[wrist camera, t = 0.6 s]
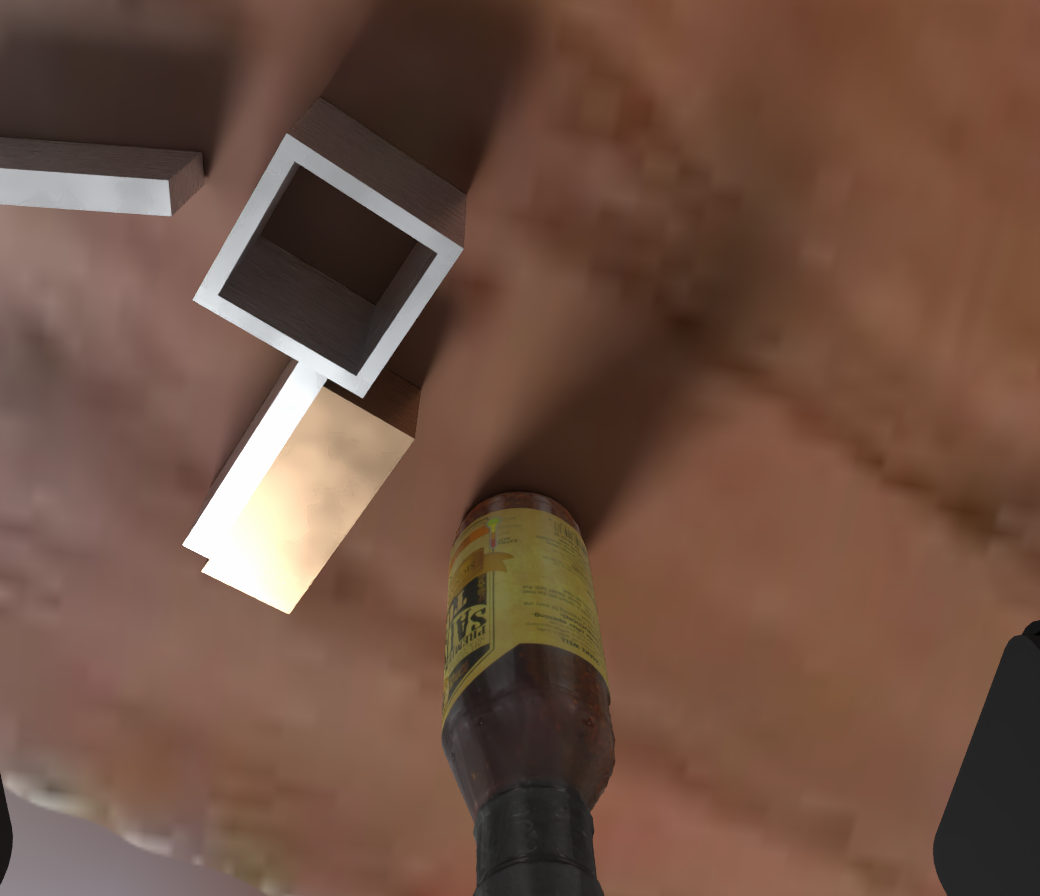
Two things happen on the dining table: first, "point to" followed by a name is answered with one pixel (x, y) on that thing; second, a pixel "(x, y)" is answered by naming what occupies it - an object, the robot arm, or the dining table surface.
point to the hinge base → (319, 362)
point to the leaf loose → (97, 176)
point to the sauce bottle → (526, 696)
